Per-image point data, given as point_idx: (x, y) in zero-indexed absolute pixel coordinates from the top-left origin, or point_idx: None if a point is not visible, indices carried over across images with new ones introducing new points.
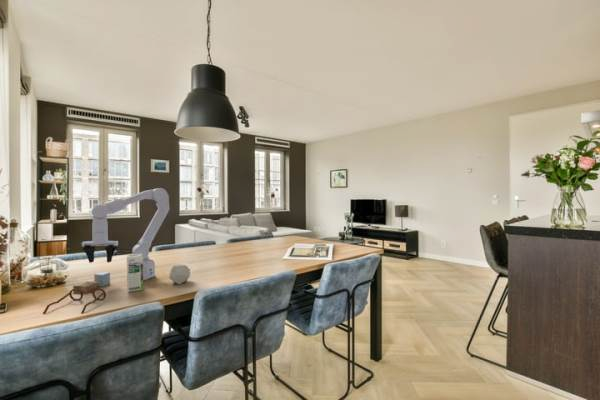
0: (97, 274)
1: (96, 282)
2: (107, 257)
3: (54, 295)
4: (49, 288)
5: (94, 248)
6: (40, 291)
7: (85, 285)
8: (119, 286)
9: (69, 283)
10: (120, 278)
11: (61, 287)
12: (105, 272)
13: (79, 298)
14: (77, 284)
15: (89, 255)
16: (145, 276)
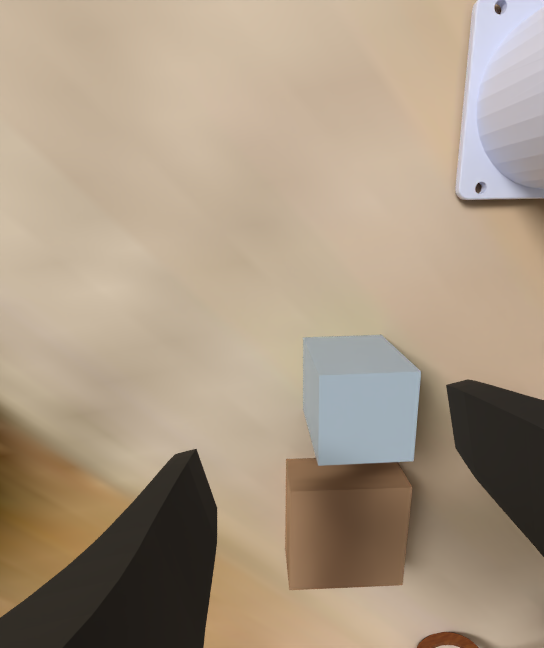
0: (353, 461)
1: (400, 497)
2: (522, 515)
3: (224, 611)
4: (26, 525)
5: (94, 635)
6: (42, 580)
7: (379, 570)
8: (516, 386)
9: (34, 402)
10: (359, 173)
11: (88, 491)
12: (374, 383)
13: (456, 644)
14: (293, 563)
15: (200, 639)
16: None
